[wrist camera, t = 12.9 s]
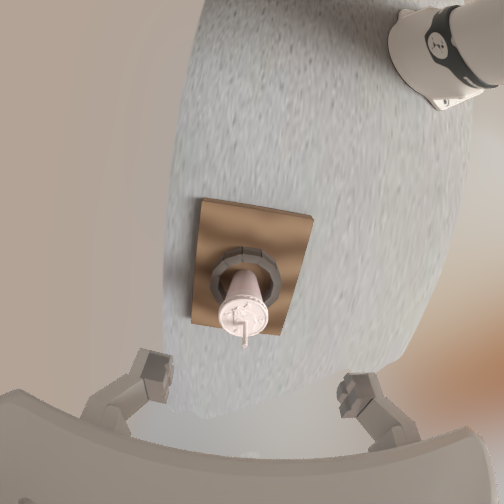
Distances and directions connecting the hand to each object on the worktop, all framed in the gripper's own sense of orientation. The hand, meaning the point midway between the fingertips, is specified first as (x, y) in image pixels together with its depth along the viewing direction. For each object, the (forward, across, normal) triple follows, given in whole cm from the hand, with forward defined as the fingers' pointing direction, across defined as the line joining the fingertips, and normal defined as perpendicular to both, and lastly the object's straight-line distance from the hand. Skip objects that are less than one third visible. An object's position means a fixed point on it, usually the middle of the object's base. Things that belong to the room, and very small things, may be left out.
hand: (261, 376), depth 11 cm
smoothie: (+28, 0, +13) cm, 31 cm away
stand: (+30, 0, +13) cm, 33 cm away
